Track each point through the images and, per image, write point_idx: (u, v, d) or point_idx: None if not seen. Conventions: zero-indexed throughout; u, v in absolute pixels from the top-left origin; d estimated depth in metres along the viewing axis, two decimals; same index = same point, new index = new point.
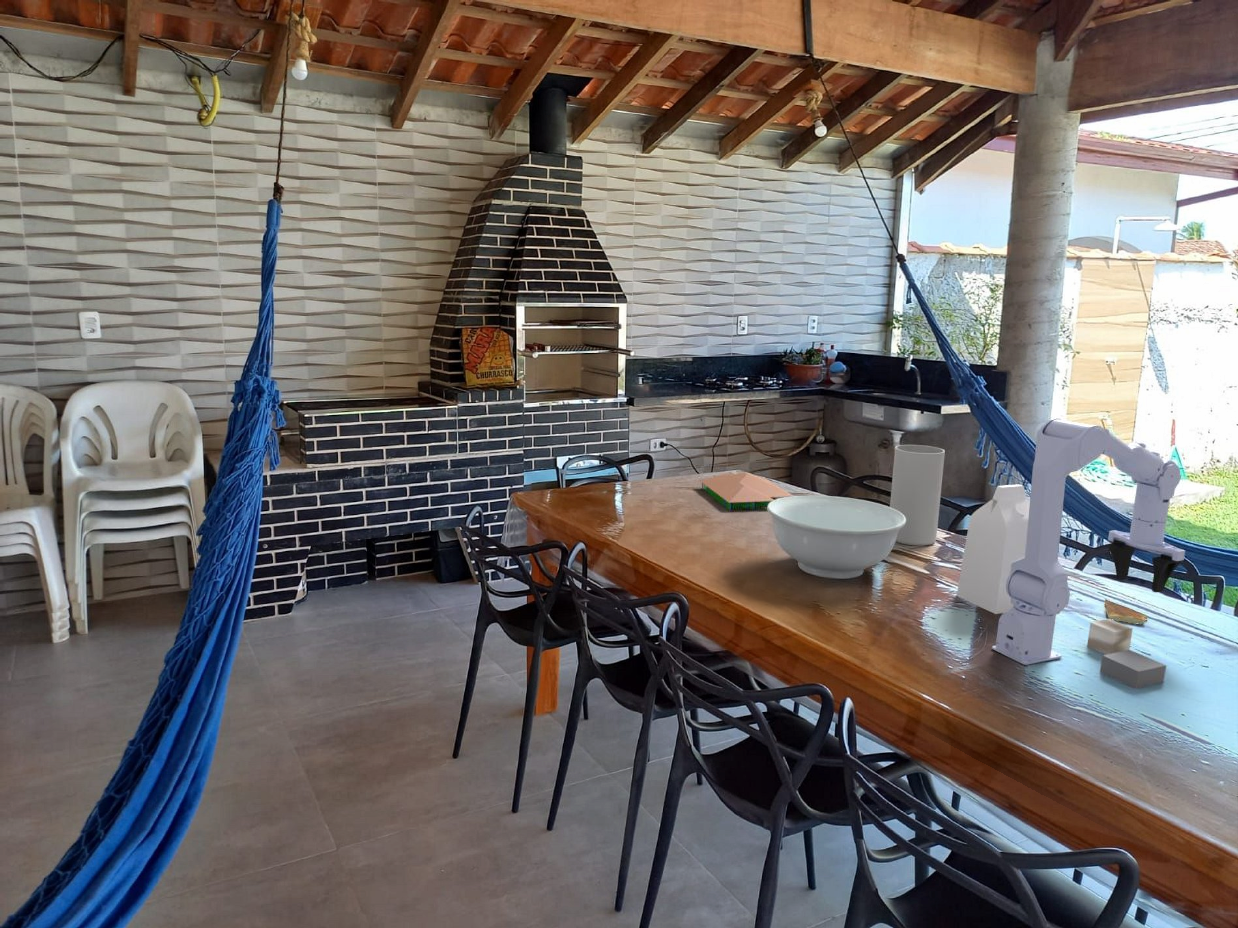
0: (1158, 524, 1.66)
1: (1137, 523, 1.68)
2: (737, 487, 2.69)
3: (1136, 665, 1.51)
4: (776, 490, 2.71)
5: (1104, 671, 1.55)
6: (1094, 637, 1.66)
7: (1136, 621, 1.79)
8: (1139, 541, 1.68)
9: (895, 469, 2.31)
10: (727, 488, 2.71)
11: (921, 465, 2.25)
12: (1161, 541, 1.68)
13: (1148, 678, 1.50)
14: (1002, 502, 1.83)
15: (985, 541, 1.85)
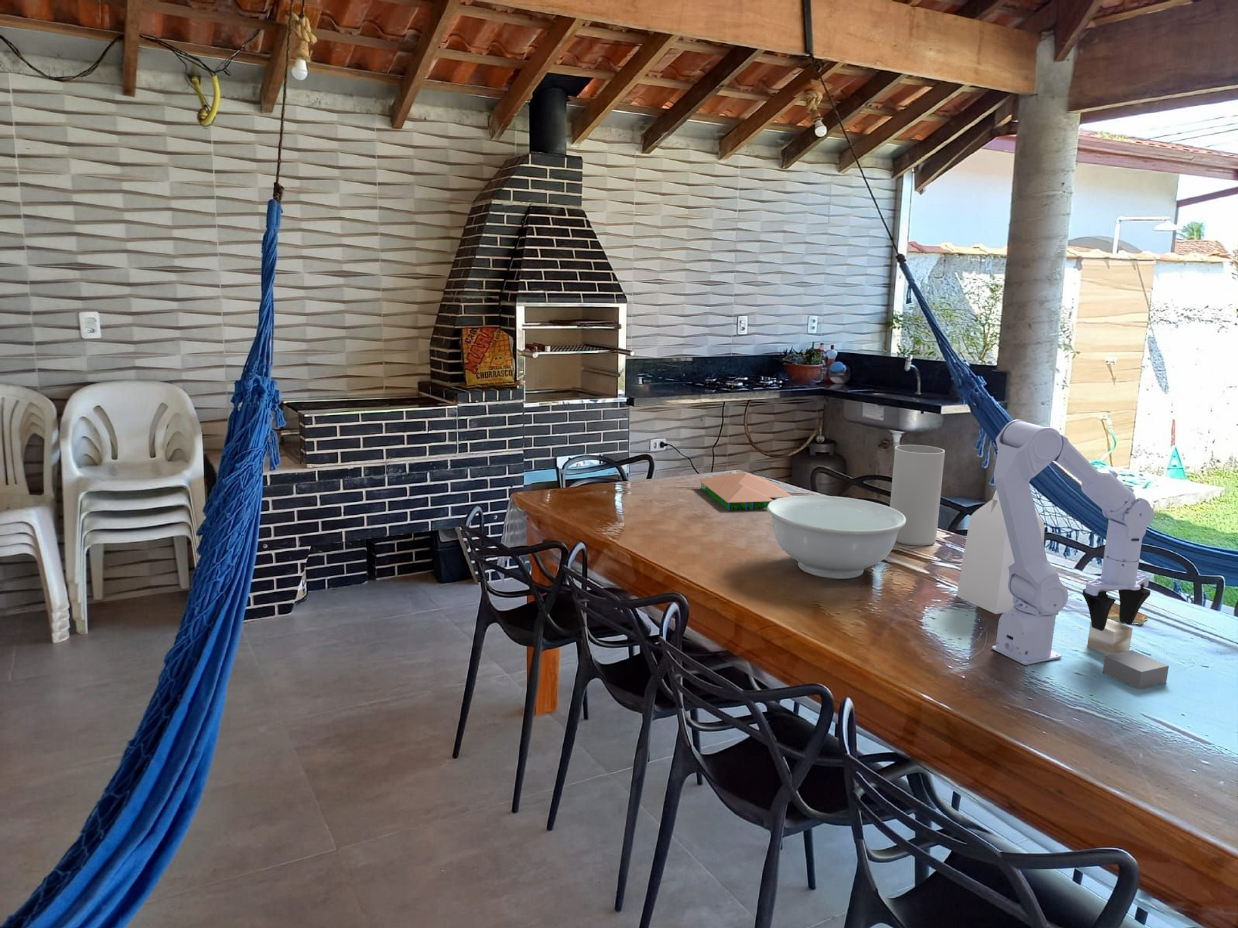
0: (1106, 559, 1.62)
1: None
2: (736, 487, 2.69)
3: (1138, 665, 1.51)
4: (775, 490, 2.71)
5: (1107, 672, 1.55)
6: (1094, 636, 1.66)
7: (1136, 621, 1.79)
8: None
9: (895, 469, 2.31)
10: (726, 488, 2.71)
11: (921, 465, 2.25)
12: (1110, 579, 1.61)
13: (1151, 678, 1.50)
14: None
15: (985, 541, 1.85)
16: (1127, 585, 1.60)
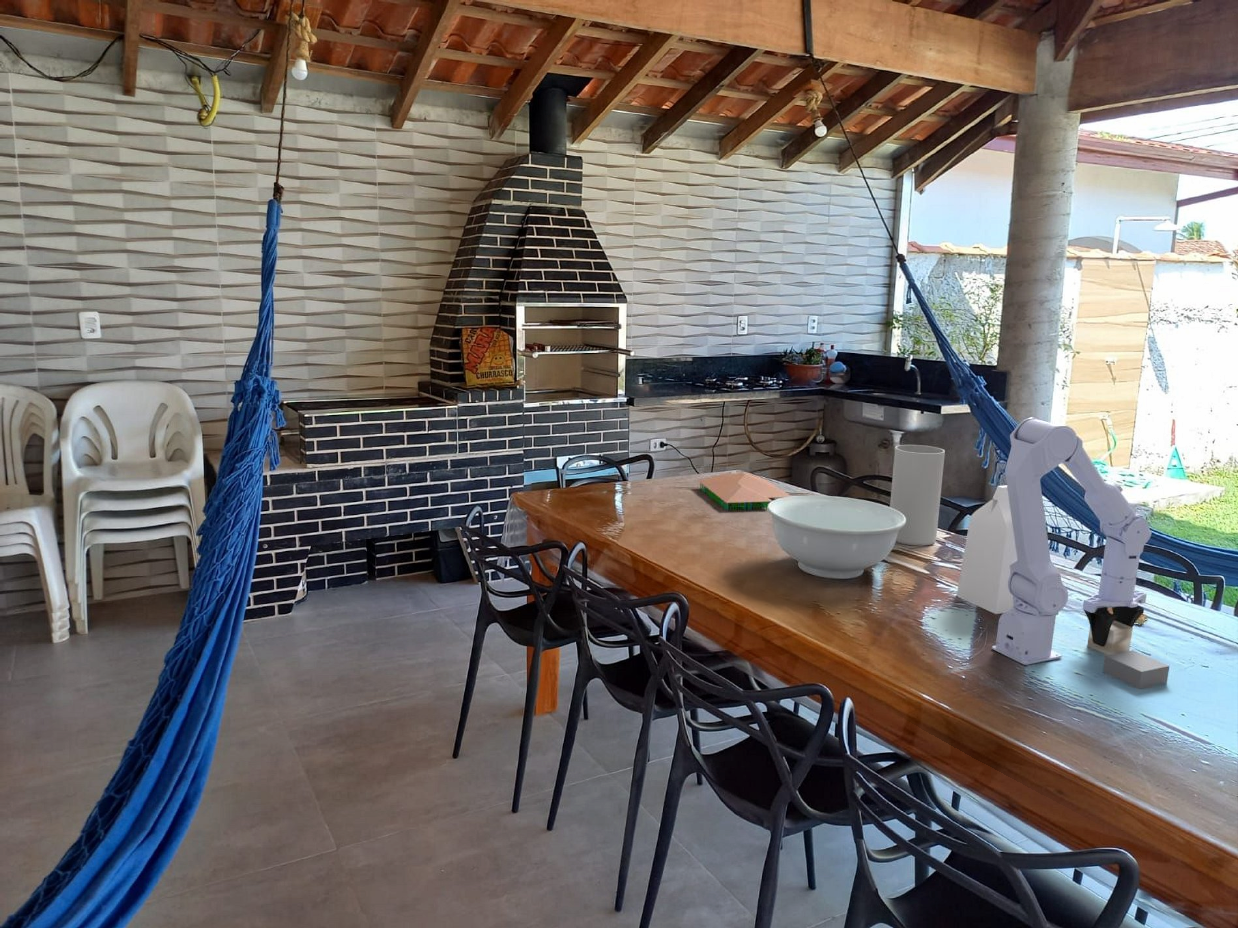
0: (1103, 576, 1.63)
1: None
2: (735, 487, 2.68)
3: (1139, 665, 1.51)
4: (774, 490, 2.70)
5: (1107, 671, 1.55)
6: None
7: (1136, 621, 1.79)
8: None
9: (895, 469, 2.31)
10: (725, 488, 2.71)
11: (921, 465, 2.25)
12: (1107, 596, 1.62)
13: (1151, 678, 1.50)
14: (1002, 502, 1.83)
15: (985, 541, 1.85)
16: (1124, 602, 1.61)
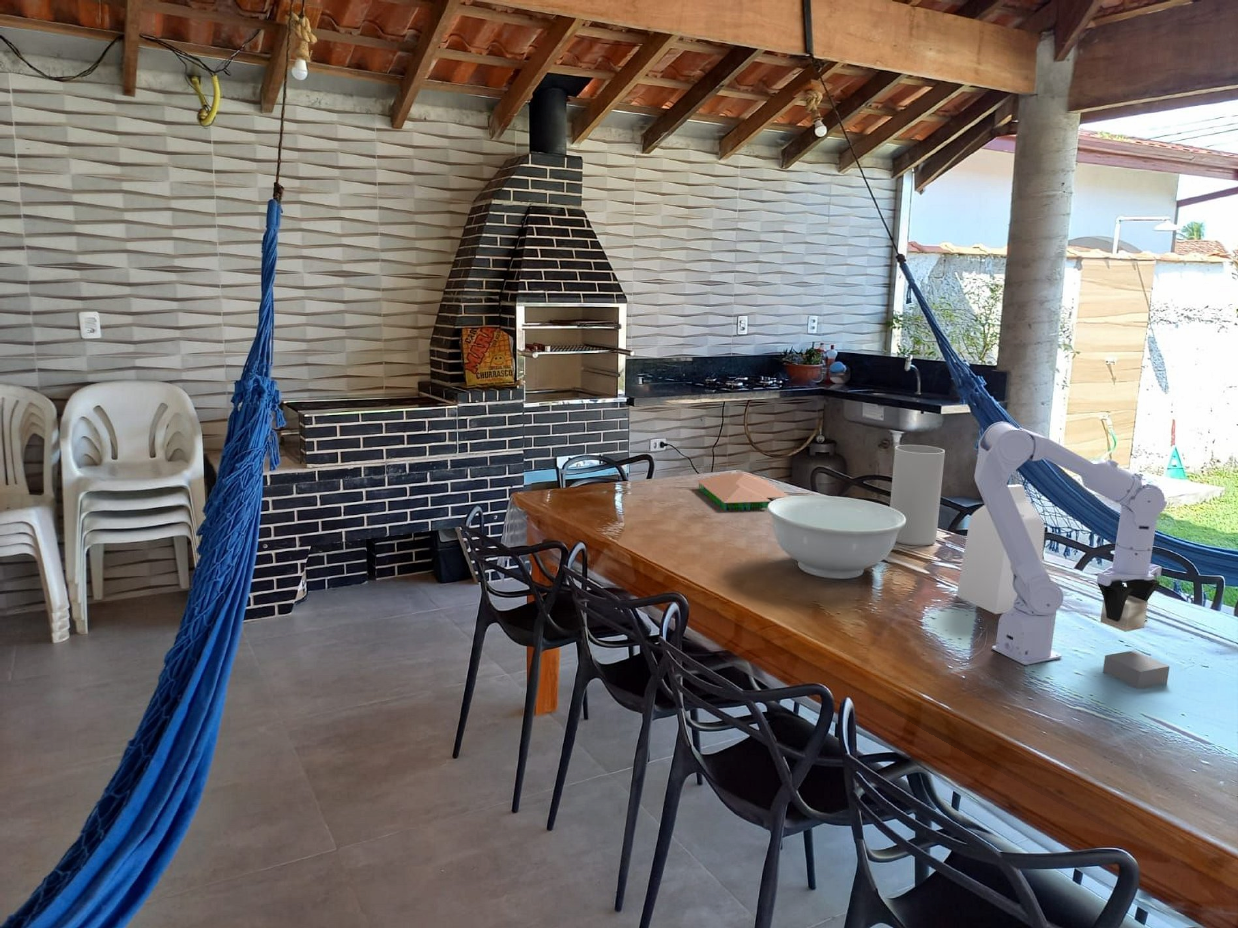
0: (1118, 548, 1.56)
1: None
2: (733, 487, 2.68)
3: (1138, 665, 1.51)
4: (773, 490, 2.70)
5: (1107, 671, 1.55)
6: None
7: None
8: None
9: (895, 469, 2.31)
10: (724, 488, 2.71)
11: (921, 465, 2.25)
12: (1122, 569, 1.56)
13: (1151, 678, 1.50)
14: None
15: (985, 541, 1.85)
16: (1140, 575, 1.54)
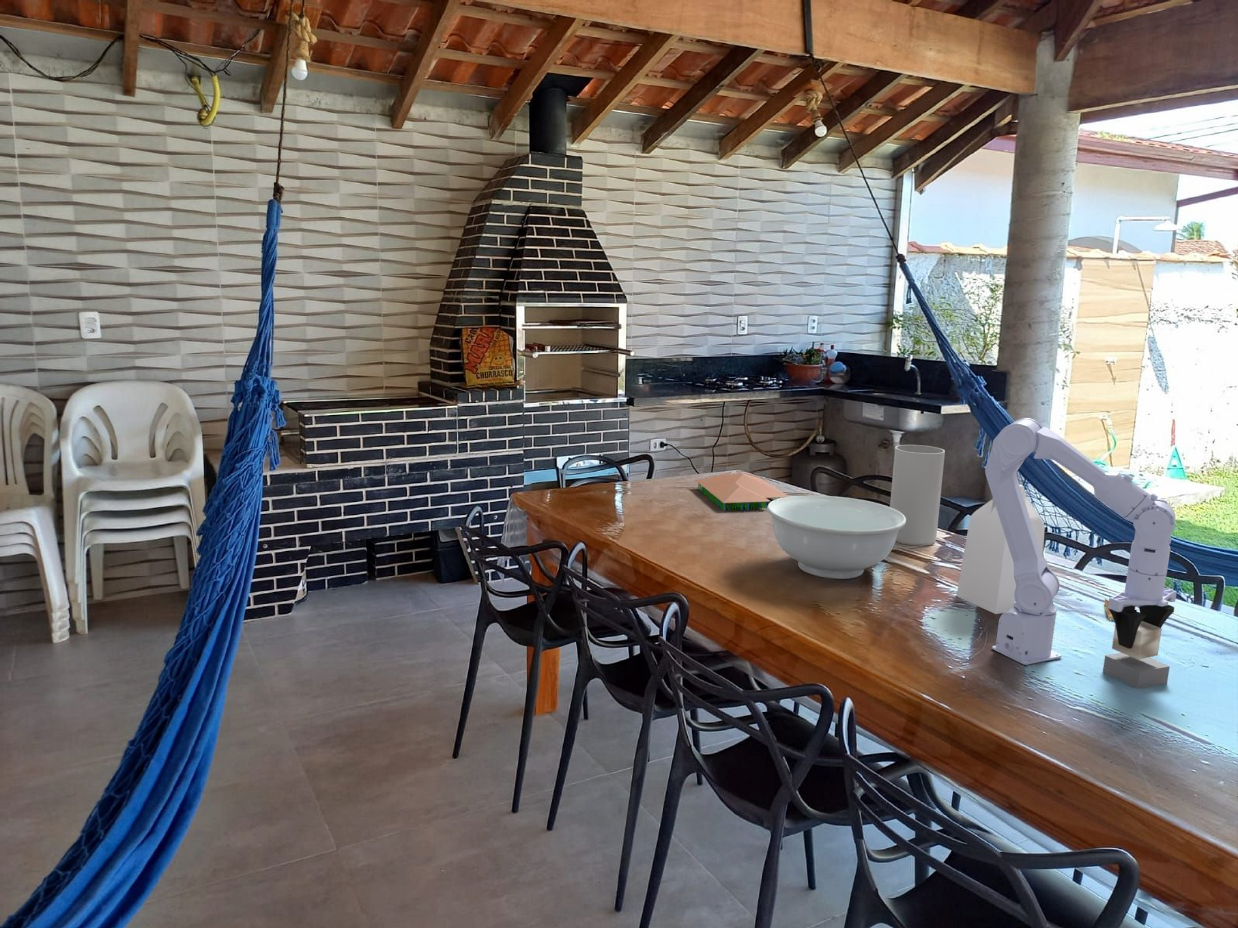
0: (1131, 572, 1.50)
1: None
2: (732, 487, 2.68)
3: (1138, 665, 1.51)
4: (772, 490, 2.70)
5: (1107, 671, 1.55)
6: None
7: None
8: None
9: (895, 469, 2.31)
10: (723, 488, 2.70)
11: (921, 465, 2.25)
12: (1135, 594, 1.49)
13: (1150, 678, 1.50)
14: None
15: (985, 541, 1.85)
16: (1154, 600, 1.48)
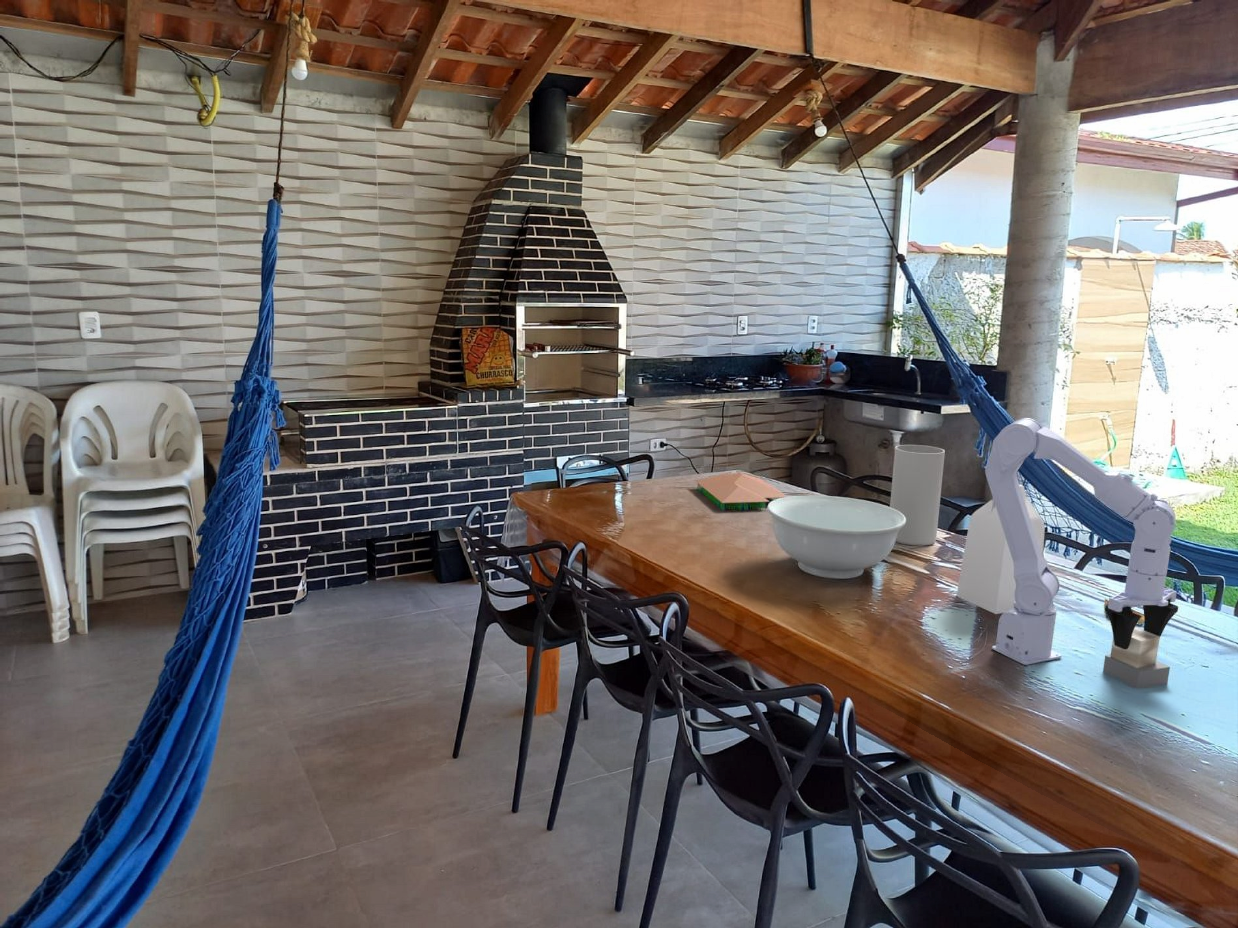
0: (1131, 572, 1.50)
1: None
2: (731, 487, 2.68)
3: None
4: (771, 490, 2.70)
5: (1107, 671, 1.55)
6: None
7: None
8: None
9: (895, 469, 2.31)
10: (722, 488, 2.70)
11: (921, 465, 2.25)
12: (1135, 594, 1.49)
13: (1150, 679, 1.50)
14: None
15: (985, 541, 1.85)
16: (1154, 600, 1.48)
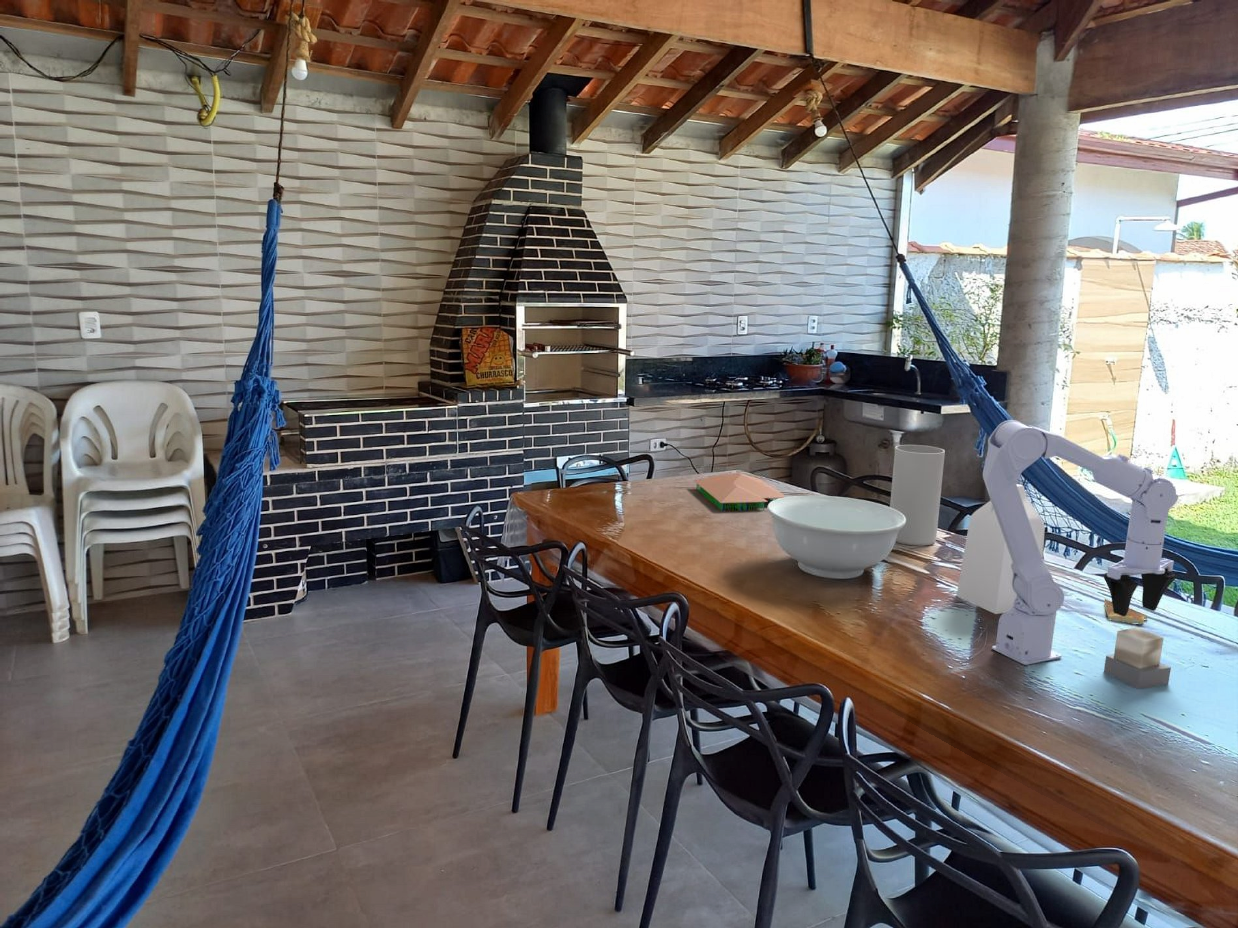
0: (1129, 542, 1.57)
1: None
2: (730, 487, 2.68)
3: None
4: (770, 490, 2.70)
5: (1107, 671, 1.55)
6: (1121, 647, 1.53)
7: (1136, 621, 1.79)
8: None
9: (895, 469, 2.31)
10: (720, 489, 2.70)
11: (921, 465, 2.25)
12: (1133, 563, 1.56)
13: (1151, 679, 1.50)
14: None
15: (985, 541, 1.85)
16: (1151, 569, 1.55)
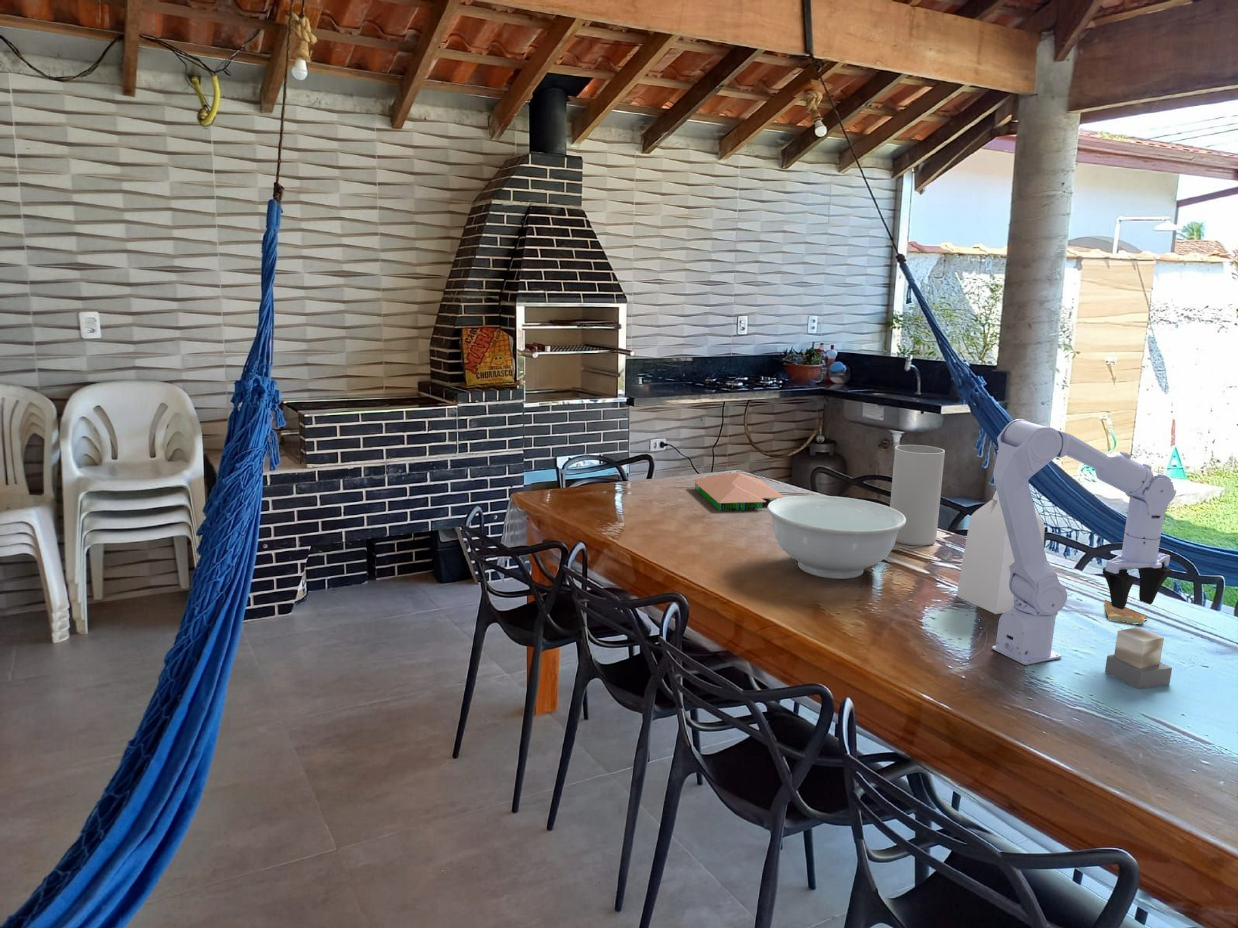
0: (1127, 537, 1.60)
1: None
2: (728, 488, 2.68)
3: None
4: (768, 491, 2.69)
5: (1109, 671, 1.55)
6: (1121, 646, 1.53)
7: (1136, 621, 1.79)
8: None
9: (895, 469, 2.31)
10: (719, 489, 2.70)
11: (921, 465, 2.25)
12: (1131, 557, 1.59)
13: (1152, 679, 1.50)
14: None
15: (985, 541, 1.85)
16: (1148, 563, 1.58)
